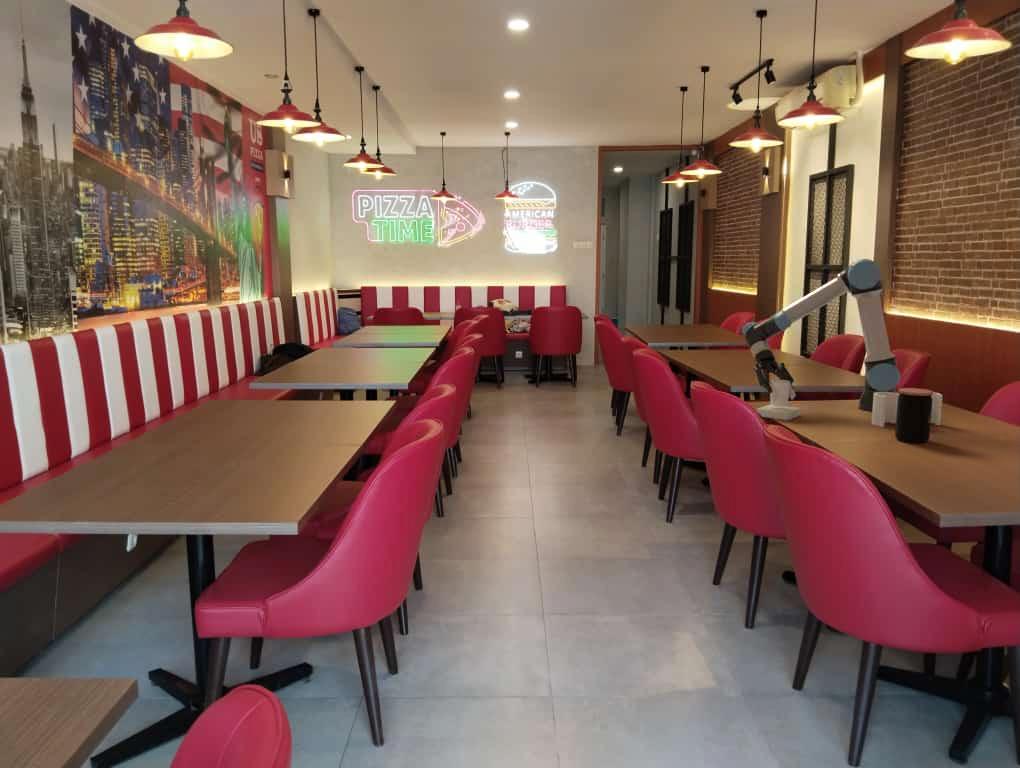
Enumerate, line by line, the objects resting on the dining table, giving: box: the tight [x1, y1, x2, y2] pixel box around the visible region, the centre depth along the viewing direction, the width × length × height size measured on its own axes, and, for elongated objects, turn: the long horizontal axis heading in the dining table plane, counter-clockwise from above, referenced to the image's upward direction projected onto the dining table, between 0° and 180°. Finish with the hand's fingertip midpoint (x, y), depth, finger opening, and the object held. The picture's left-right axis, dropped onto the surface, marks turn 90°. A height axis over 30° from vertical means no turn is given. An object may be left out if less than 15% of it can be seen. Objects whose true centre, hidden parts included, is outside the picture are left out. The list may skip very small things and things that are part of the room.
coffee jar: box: [894, 387, 934, 444], centre depth 262 cm, size 11×11×18 cm
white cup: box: [769, 379, 790, 407], centre depth 306 cm, size 8×8×10 cm
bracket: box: [871, 391, 943, 428], centre depth 289 cm, size 25×10×12 cm, turn 91°
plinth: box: [756, 403, 802, 421], centre depth 307 cm, size 13×13×3 cm
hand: (784, 397), depth 303 cm, fingers open, 8 cm apart
